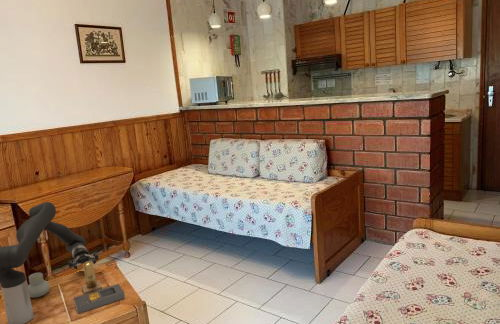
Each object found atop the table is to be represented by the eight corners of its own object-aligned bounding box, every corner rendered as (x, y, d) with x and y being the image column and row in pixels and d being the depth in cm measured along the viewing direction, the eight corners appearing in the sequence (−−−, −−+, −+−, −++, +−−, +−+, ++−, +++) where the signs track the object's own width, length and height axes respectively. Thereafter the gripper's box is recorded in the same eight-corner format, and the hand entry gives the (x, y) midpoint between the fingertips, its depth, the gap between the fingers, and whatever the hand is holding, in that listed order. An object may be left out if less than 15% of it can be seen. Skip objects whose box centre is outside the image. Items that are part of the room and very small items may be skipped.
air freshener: (52, 294, 188) (48, 275, 186) (33, 301, 183) (29, 282, 181) (44, 287, 196) (41, 268, 194) (26, 294, 190) (22, 275, 188)
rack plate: (78, 313, 170) (76, 307, 169) (74, 303, 178) (73, 297, 177) (124, 298, 180) (124, 291, 179) (119, 289, 188) (118, 283, 187)
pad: (84, 296, 184) (84, 292, 184) (82, 289, 191) (81, 285, 190) (102, 290, 188) (102, 286, 188) (99, 284, 195) (98, 280, 194)
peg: (87, 289, 186) (83, 266, 184) (86, 285, 190) (82, 262, 187) (97, 286, 188) (93, 263, 186) (95, 283, 192) (91, 260, 190)
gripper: (64, 251, 206) (68, 262, 193) (93, 243, 214) (99, 253, 200) (67, 264, 208) (71, 276, 194) (95, 256, 215) (101, 267, 201)
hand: (85, 264), depth 197 cm, fingers open, 8 cm apart
